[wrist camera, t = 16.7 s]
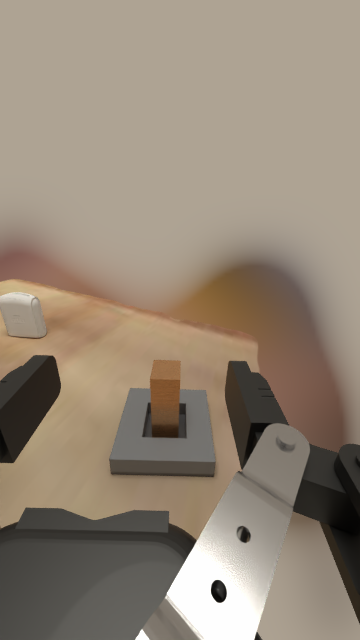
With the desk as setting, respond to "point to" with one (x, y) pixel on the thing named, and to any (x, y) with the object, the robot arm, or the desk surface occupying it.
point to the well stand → (164, 439)
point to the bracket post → (165, 398)
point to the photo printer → (22, 315)
